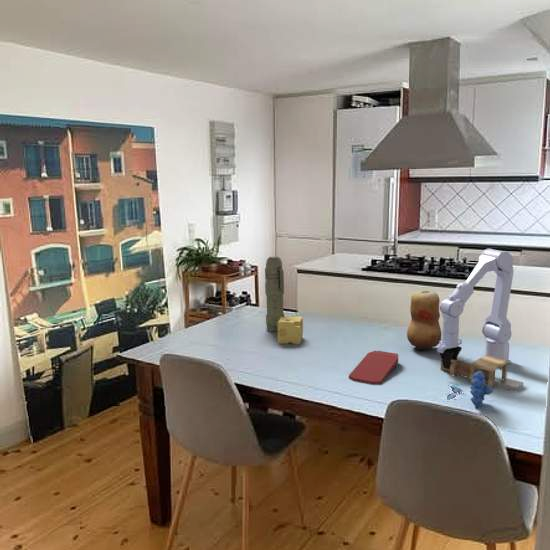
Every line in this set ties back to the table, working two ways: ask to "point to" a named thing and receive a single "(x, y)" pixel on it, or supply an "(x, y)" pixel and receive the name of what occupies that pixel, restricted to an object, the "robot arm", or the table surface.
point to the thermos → (274, 292)
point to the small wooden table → (489, 367)
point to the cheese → (290, 330)
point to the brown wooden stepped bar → (463, 369)
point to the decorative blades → (455, 390)
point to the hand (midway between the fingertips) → (449, 366)
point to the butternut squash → (424, 320)
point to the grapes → (479, 388)
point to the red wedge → (374, 367)
